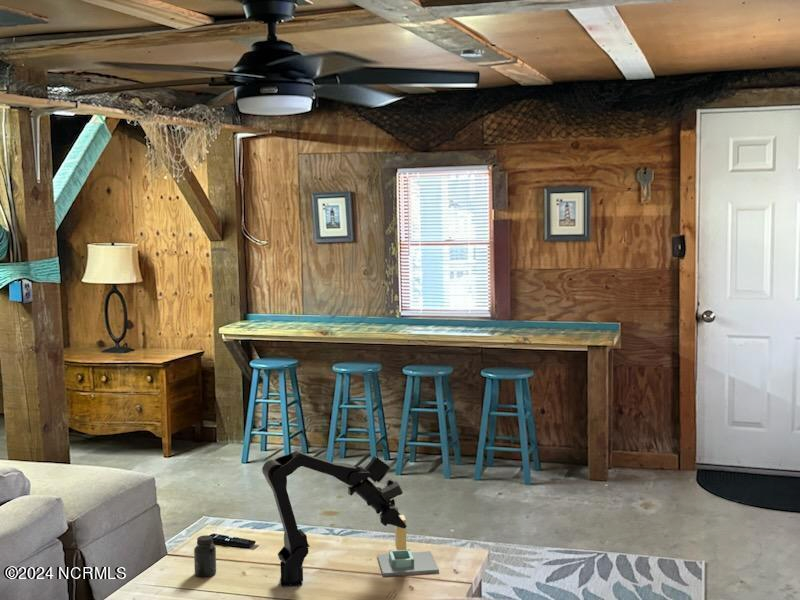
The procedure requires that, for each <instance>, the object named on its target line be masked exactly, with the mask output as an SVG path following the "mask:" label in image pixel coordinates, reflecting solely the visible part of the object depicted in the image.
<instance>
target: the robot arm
mask: <svg viewBox="0 0 800 600" xmlns="http://www.w3.org/2000/svg"><path fill="white" fill-rule="evenodd" d="M301 467H303V468H306V469H309V470H313V471H316V472H319V473H322V474H326V475H330V476H332V477H334V478H336V479H337V480H339V481H340V482H342V483H344V484H345V485H348V486H347V494H348V495H349V496H353V495H354V493H356V495H358V496H359V497H360V498H361V499H362V500H363V501H364V502H365V503H366V505H367V506H368V507H371V508H372V509H373V510H375V513H376V514H377V515H379V521H380V523H381V524H382V525H383V526H384V527H386V526H387V525H391V526H394V527H395V526H397V527H401V528H404V529H405V528H406V529H407V523H406V524H405V523H404V522H403V520H402V519H401V518H400V516H399V515H401V513H400V512H399V509H398V507H396V501H395V498H397V497H398V496H401V495H402V494H403V493H404V492H403V490H402V487H401V486H400V484H399V481H396V480H395V481H394V480H393V479H388V480H386V485H385V486H384V488H382V487H380V486H376V485H375V484H374V483H380V482H382V480H383V479H384V478H385V476H386V475H387V474H388V473H389V472H390V470H391V469H392V468H391V467H390V466H389V465H388V464H387V463H386V462H384V461H383V460H381V458H379V457H377V456H376V455H373V457H372V458H371V460H370V461H369V463H368V464H367V465H366V467H363V466H354V465H352V464H351V463H348V462H346V463H345V462H333V461H329V460H326V459H324V458H319V457H316V456H314V455H311V454H307V453H304V452H303V451H302V452H301V451H300V450H294V451H293V452H291V453H288V454H285V455H281V456H279V457H277V458H274V459H268V460H267V461H266V462H264V463H263V465H262V468H261V470H262V471H261V472H262V474H263V476H264V478H265V480H266V483H267V484H268V486H269V487H270V488H271V491H272V493H273V497H274V501H275V503H276V504H275V505H276V507H277V510H278V514H279V516H280V521H281V525H282V528H283V544H284V545H283V547H282V548H281V549H280V550H279V552H277V556H278V559H279V560H280V587H293V586H295V587H296V586H302V584H303V583H302V582H303V581H304V567H303V563H304V561H305V558H306V557H307V556H308V554H309V548H310V547H311V545H310V544H309V542H308V537H307V534H306V533H305V532H304V531H303V530H302V529H300V528H298V525H297V521H296V517H295V514H294V510H293V507H292V504H291V501H290V497H289V493H288V490H287V487H288V486H287V485H288V476H290V475H292V474H293V473H294V472H295V471H296V470H297V469H299V468H301ZM369 479H370V480H369Z"/></svg>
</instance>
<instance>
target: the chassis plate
mask: <svg viewBox="0 0 800 600" xmlns="http://www.w3.org/2000/svg"><path fill="white" fill-rule="evenodd" d="M376 557H377V560H378V561H377V562H378V564H379V567H380V571H381V574H382V577H391V576H392V577H393V576H406V575H407V576H408V575H424V574H425V573H426V574H435V573H436V574H439V573H440V569H439V567H438V564H437V562H436V560H435V558H434V556H433V554H432V552H431V550H427V551H413V552H412V551H411V548H406V550H399V551H397V549H392V550H391V549H389V550H388V553H380V554H379V553H377V556H376Z"/></svg>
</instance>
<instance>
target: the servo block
mask: <svg viewBox="0 0 800 600" xmlns="http://www.w3.org/2000/svg"><path fill="white" fill-rule="evenodd" d="M399 516H400V518H401V519H402V520H403V522H404V523H405V524H406V525H407V519H406V517H405V515H404V514H400V515H399ZM394 541H395V542H394V544H395V545H394V546H395V548H396V549H395V550H397V551H399V550H406V549H407V527H406V528H405V529H404V528H401V527H397V526H394Z"/></svg>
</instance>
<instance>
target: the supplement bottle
mask: <svg viewBox="0 0 800 600" xmlns="http://www.w3.org/2000/svg"><path fill="white" fill-rule="evenodd" d="M213 543H214V541H213V536H211V535H208V534H207V535H200V536H198V537H196V546H195V547H194V549H193V550H194V551H193V552H194V554H193V556H194V557H193V559H194V560H193V561H194V562H193V563H194V565H193V567H194V575H195V576H196V577H197V578H202V579H205V578H206V577H207V578H211V577H213V576H215V575H216V574H217V548H216V546H215V545H214V544H213ZM207 578H206V579H207Z"/></svg>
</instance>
